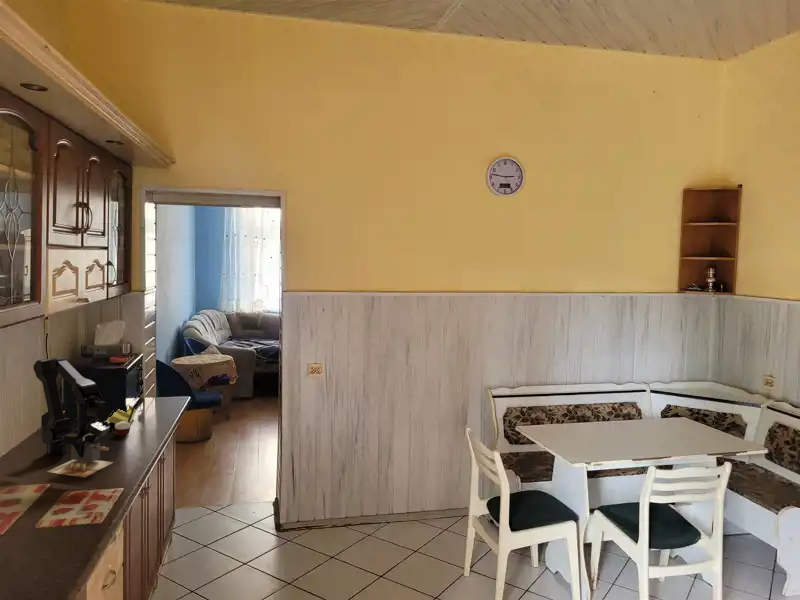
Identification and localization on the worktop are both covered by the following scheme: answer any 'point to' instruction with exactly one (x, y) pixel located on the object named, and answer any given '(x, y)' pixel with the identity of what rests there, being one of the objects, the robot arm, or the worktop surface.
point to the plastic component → (121, 416)
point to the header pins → (78, 467)
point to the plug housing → (88, 452)
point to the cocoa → (123, 426)
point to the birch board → (90, 468)
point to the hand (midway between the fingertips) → (85, 455)
